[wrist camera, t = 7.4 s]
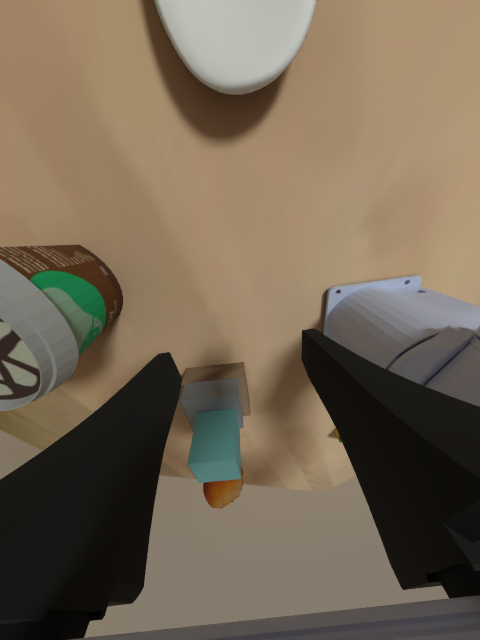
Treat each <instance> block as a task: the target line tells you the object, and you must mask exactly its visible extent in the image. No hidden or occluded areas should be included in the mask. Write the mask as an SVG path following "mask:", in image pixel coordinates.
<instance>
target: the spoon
mask: <svg viewBox="0 0 480 640" xmlns="http://www.w3.org/2000/svg"><path fill="white" fill-rule="evenodd" d="M316 2H317V0H154V3H155V6H156V9H157V11H158V14H159V17H160V19H161V22H162V24H163V26H164V28H165V31H166V33H167V35H168V37H169V39H170V41H171V43H172V45H173V47H174V48H175V50H176V52H177V53H178V55H179V57H180V58H181V60H182V61H183V63H184V64H185V65H186V67H187V68H188V69H189V70H190V72H191V73H192V74H193V75H194V76H195V77H196V78H197V79H198V80H200V81H201V82H202V83H203V84H205V85H207V86H208V87H210V88H212V89H214V90H216V91H218V92H220V93H224V94H231V95H242V94H247V93H251V92H254V91H257V90H259V89H261V88H263V87H265V86H267V85H268V84H270V83H271V82H273V81H274V80H275V79H276V78H277V77H279V76H280V75H281V73H282V72H283V71H284V70H285V69H286V68H287V67H288V66H289V65H290V63H291V62H292V61H293V59H294V58H295V56H296V55H297V53H298V51H299V50H300V48H301V46H302V44H303V42H304V40H305V37H306V35H307V32H308V29H309V27H310V24H311V20H312V17H313V14H314V10H315V6H316Z"/></svg>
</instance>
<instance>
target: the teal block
mask: <svg viewBox="0 0 480 640" xmlns="http://www.w3.org/2000/svg"><path fill="white" fill-rule="evenodd" d="M188 466H189V467H190V469H191V471H192V472H193V474H194V476H195V477H196V479H197V480H198V482H199V483H203V482H214V481H225V480H235V479H241V460H240V429H239V425H238V420H237V416H236V411H235V409H227V410H217V411H208V412H198V413H197V416H196V421H195V426H194V432H193V437H192V443H191V448H190V454H189V459H188Z"/></svg>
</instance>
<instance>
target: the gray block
mask: <svg viewBox="0 0 480 640" xmlns="http://www.w3.org/2000/svg"><path fill="white" fill-rule="evenodd" d="M180 403H181V405H182V408H183V410H184V412H185V414H186V416H187V419H188V421H189V423H190V425H191V427H192V430H193V432H194V426H195V421H196V416H197V413H198V412H208V411H217V410H227V409H235V411H236V416H237V420H238V425H239V428H243V409H242V404H241V399H240V393H239V388H238V382H237V378H230V379H221V380H212V381H202V382H193V383H185V385H184V388H183V392H182V395H181V398H180Z"/></svg>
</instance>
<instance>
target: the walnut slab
mask: <svg viewBox="0 0 480 640" xmlns="http://www.w3.org/2000/svg"><path fill="white" fill-rule="evenodd" d="M230 378H237V382H238V388H239V393H240V399H241V404H242V409H243V416H247V415H251V414H250V402H249V394H248V387H247V380H246V374H245V367H244V362H241V363H232V364H223V365H214V366H205V367H195V368H186V370H185V373H184V377H183V380H182V383H181V384H182V386H183V388H184V385H185V383H193V382H202V381H212V380H221V379H230Z"/></svg>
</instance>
